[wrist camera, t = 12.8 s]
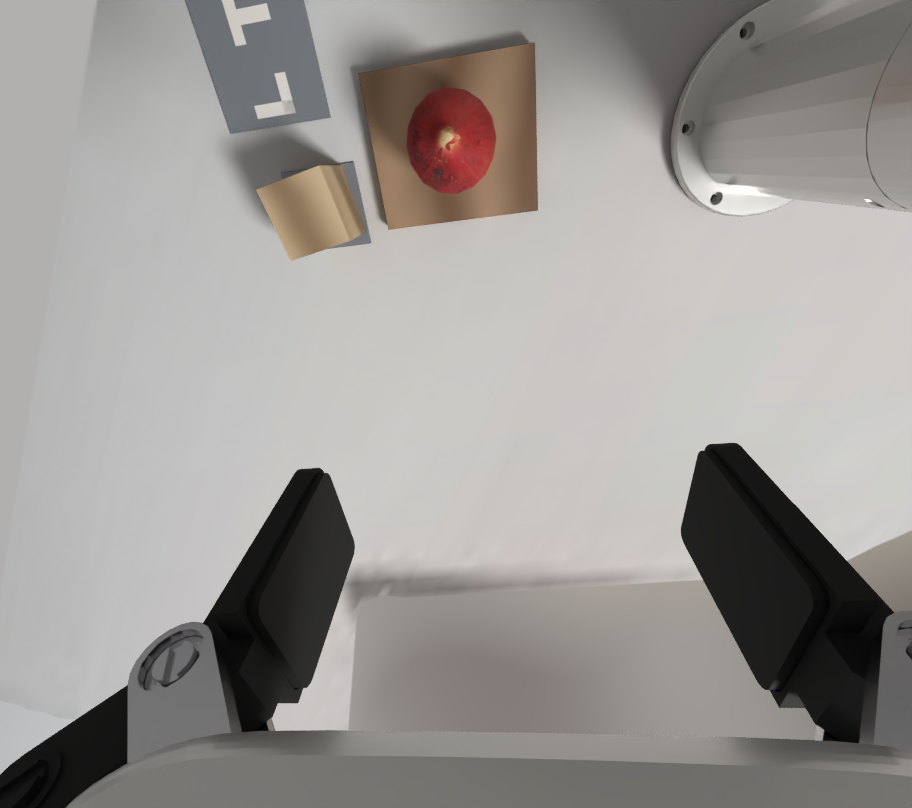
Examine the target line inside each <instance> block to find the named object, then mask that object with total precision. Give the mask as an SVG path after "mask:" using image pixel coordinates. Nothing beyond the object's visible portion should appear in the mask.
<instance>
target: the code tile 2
mask: <svg viewBox="0 0 912 808" xmlns="http://www.w3.org/2000/svg"><path fill="white" fill-rule="evenodd" d="M337 165H342V168H343V171H344V173H345V176H346V178H347V181H348V184H349V186H350V189H351V191H352V194H353V196H354V199H355V202H356V204H357V207H358V209H359V212H360V215H361V217H362V220H363V222H364V225H365V228H366V230H367V232H365V233H363V234H361V235H360V236H358V237H356V238H354V239H353V240H351V241H348V242H345V243H343V244H340V245H337V246H334V247H331V248H337V247H345V246H353V245H361V244H369V243H371V239H370V235H369V230H368V226H367V221H366V216H365V212H364V207H363V203H362V198H361V193H360V189H359V184H358V179H357V175H356V170H355V166H354V162H350V163H343V164H337ZM310 169H311V168H310ZM306 170H308V169H303V170H297V171H290V172H283V173H281V175H282V178H283V179H285V178H288V177H290V176H293V175H295V174H298V173H301V172H303V171H306ZM328 249H330V248H328Z"/></svg>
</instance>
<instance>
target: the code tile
mask: <svg viewBox="0 0 912 808" xmlns="http://www.w3.org/2000/svg"><path fill="white" fill-rule="evenodd" d="M185 1H186V4H187V6H188V9H189V12H190V15H191V18H192V21H193V24H194V27H195V30H196V33H197V36H198V39H199V42H200V45H201V48H202V51H203V54H204V57H205V59H206V62H207V65H208V68H209V71H210V74H211V77H212V80H213V83H214V86H215V89H216V92H217V95H218V98H219V101H220V104H221V107H222V109H223V112H224V115H225V118H226V121H227V124H228V127H229V130H230V133H231V134H233V133H240V132H246V131H252V130H258V129H264V128H270V127H276V126H282V125H288V124H294V123H300V122H307V121H313V120H319V119H325V118H331V116H330V112H329V108H328V103H327V99H326V95H325V90H324V86H323V82H322V77H321V73H320V69H319V64H318V60H317V56H316V51H315V47H314V43H313V38H312V34H311V29H310V25H309V21H308V16H307V12H306V8H305V3H304V0H185Z"/></svg>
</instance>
